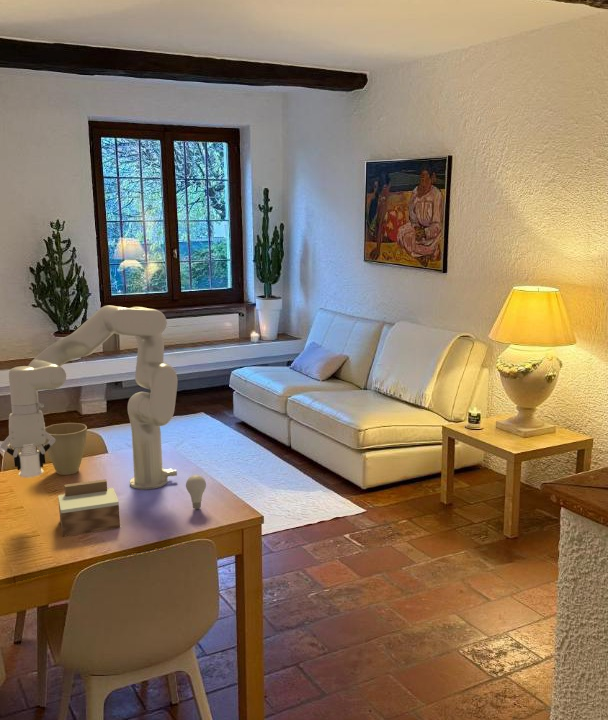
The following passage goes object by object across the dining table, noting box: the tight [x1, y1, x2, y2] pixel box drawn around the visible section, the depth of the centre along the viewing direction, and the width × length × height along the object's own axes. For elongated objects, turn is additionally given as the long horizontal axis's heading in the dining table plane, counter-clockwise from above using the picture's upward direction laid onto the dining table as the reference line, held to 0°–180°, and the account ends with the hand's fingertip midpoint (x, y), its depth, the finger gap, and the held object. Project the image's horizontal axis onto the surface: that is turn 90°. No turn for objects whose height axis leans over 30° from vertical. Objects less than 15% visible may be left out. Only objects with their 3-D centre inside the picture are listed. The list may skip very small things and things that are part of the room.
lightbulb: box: [185, 474, 207, 510], centre depth 229 cm, size 6×6×11 cm
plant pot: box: [44, 422, 88, 476], centre depth 262 cm, size 15×15×16 cm
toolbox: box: [58, 503, 121, 538], centre depth 219 cm, size 16×12×7 cm
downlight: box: [18, 444, 44, 478], centre depth 220 cm, size 8×7×10 cm
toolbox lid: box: [57, 478, 120, 513], centre depth 218 cm, size 16×12×4 cm
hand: (30, 466), depth 221 cm, fingers closed on downlight, 5 cm apart
